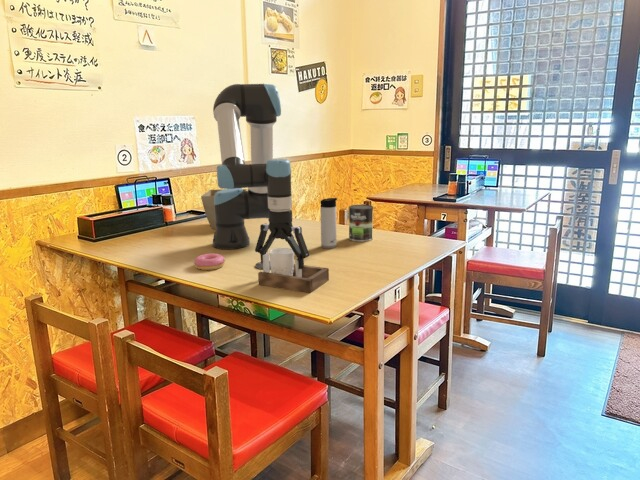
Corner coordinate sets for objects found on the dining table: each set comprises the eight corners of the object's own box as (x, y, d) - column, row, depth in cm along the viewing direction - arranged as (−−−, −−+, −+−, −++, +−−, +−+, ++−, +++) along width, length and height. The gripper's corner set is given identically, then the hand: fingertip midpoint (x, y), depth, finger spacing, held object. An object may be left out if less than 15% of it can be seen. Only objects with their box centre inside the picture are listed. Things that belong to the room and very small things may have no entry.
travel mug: (336, 249, 196) (335, 199, 191) (319, 248, 197) (318, 199, 192) (338, 245, 202) (338, 196, 197) (322, 244, 203) (322, 196, 198)
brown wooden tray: (258, 284, 156) (258, 272, 155) (279, 273, 167) (279, 261, 166) (310, 293, 148) (310, 280, 147) (328, 280, 159) (328, 268, 158)
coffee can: (369, 242, 205) (369, 209, 201) (345, 240, 209) (345, 208, 205) (375, 237, 214) (376, 205, 210) (353, 235, 218) (353, 203, 214)
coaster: (250, 267, 174) (250, 266, 174) (264, 261, 182) (264, 259, 181) (272, 270, 170) (272, 269, 170) (285, 263, 178) (285, 262, 177)
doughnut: (194, 273, 170) (193, 261, 169) (193, 264, 180) (192, 253, 179) (226, 269, 173) (226, 258, 172) (223, 261, 183) (223, 250, 182)
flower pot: (243, 230, 230) (241, 195, 226) (203, 231, 230) (200, 195, 226) (249, 222, 248) (247, 188, 244) (212, 222, 249) (209, 189, 245)
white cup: (270, 277, 163) (269, 248, 161) (294, 276, 164) (293, 247, 161) (270, 285, 156) (269, 255, 153) (295, 284, 156) (294, 254, 154)
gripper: (241, 208, 156) (245, 274, 161) (308, 214, 145) (309, 284, 151) (254, 205, 162) (258, 268, 168) (319, 209, 152) (320, 276, 157)
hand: (282, 275), depth 159 cm, fingers open, 11 cm apart
